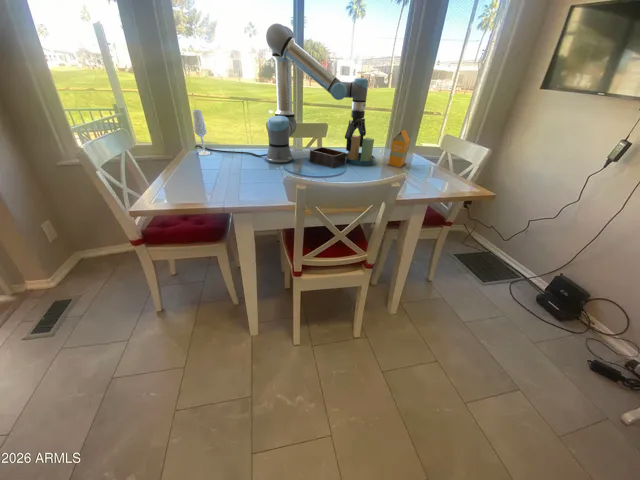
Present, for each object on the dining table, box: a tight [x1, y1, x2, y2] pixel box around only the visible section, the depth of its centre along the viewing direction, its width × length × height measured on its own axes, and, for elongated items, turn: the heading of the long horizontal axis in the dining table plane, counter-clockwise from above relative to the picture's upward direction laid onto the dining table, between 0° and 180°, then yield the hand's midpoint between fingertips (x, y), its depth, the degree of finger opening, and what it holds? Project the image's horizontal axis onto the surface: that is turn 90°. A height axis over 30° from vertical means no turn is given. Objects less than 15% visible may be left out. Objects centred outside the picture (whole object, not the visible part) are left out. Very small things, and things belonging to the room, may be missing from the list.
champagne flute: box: [191, 109, 211, 156], centre depth 159 cm, size 7×7×24 cm
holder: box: [309, 146, 347, 169], centre depth 161 cm, size 18×12×7 cm, turn 52°
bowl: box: [344, 152, 376, 167], centre depth 165 cm, size 19×19×4 cm
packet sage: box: [360, 137, 375, 161], centre depth 160 cm, size 5×4×14 cm
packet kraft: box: [347, 134, 361, 160], centre depth 164 cm, size 5×4×14 cm
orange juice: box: [387, 129, 411, 168], centre depth 160 cm, size 8×9×20 cm
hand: (354, 148), depth 164 cm, fingers open, 13 cm apart
